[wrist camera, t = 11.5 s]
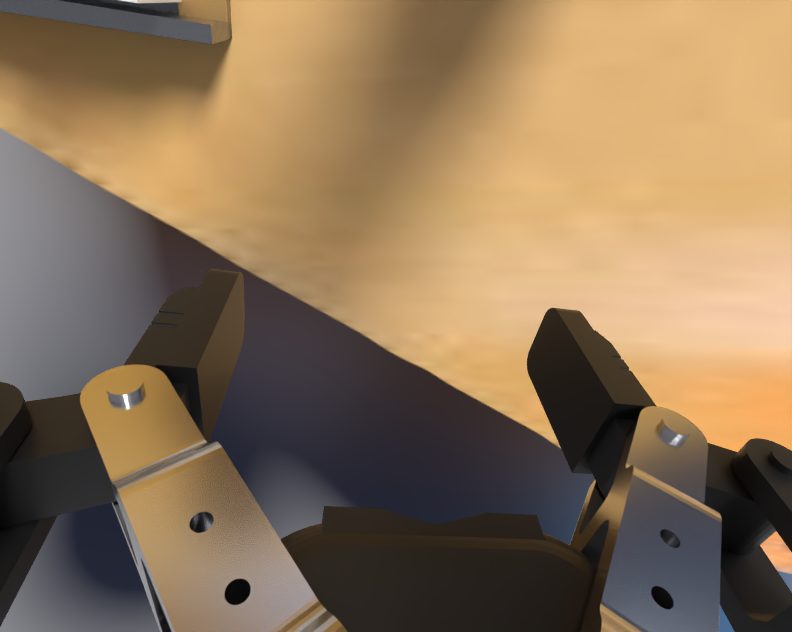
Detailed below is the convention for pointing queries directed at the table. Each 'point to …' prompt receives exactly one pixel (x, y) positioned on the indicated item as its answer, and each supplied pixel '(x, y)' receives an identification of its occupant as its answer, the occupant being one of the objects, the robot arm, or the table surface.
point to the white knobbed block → (152, 1)
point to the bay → (137, 16)
